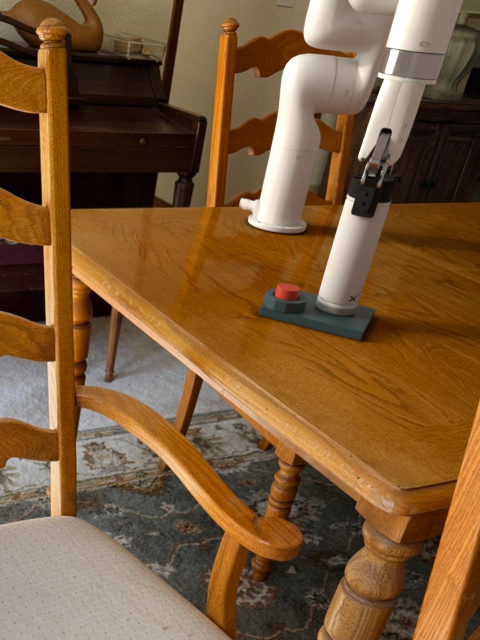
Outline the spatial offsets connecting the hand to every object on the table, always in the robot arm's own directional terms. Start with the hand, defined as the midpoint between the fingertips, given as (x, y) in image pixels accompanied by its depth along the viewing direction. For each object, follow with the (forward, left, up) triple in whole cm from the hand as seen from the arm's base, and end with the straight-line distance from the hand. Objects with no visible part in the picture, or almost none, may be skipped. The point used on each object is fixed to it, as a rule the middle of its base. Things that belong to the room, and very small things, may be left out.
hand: (366, 210), depth 106 cm
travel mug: (0, 0, -15) cm, 15 cm away
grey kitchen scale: (-2, -1, -16) cm, 17 cm away
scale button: (-8, -4, -14) cm, 16 cm away
